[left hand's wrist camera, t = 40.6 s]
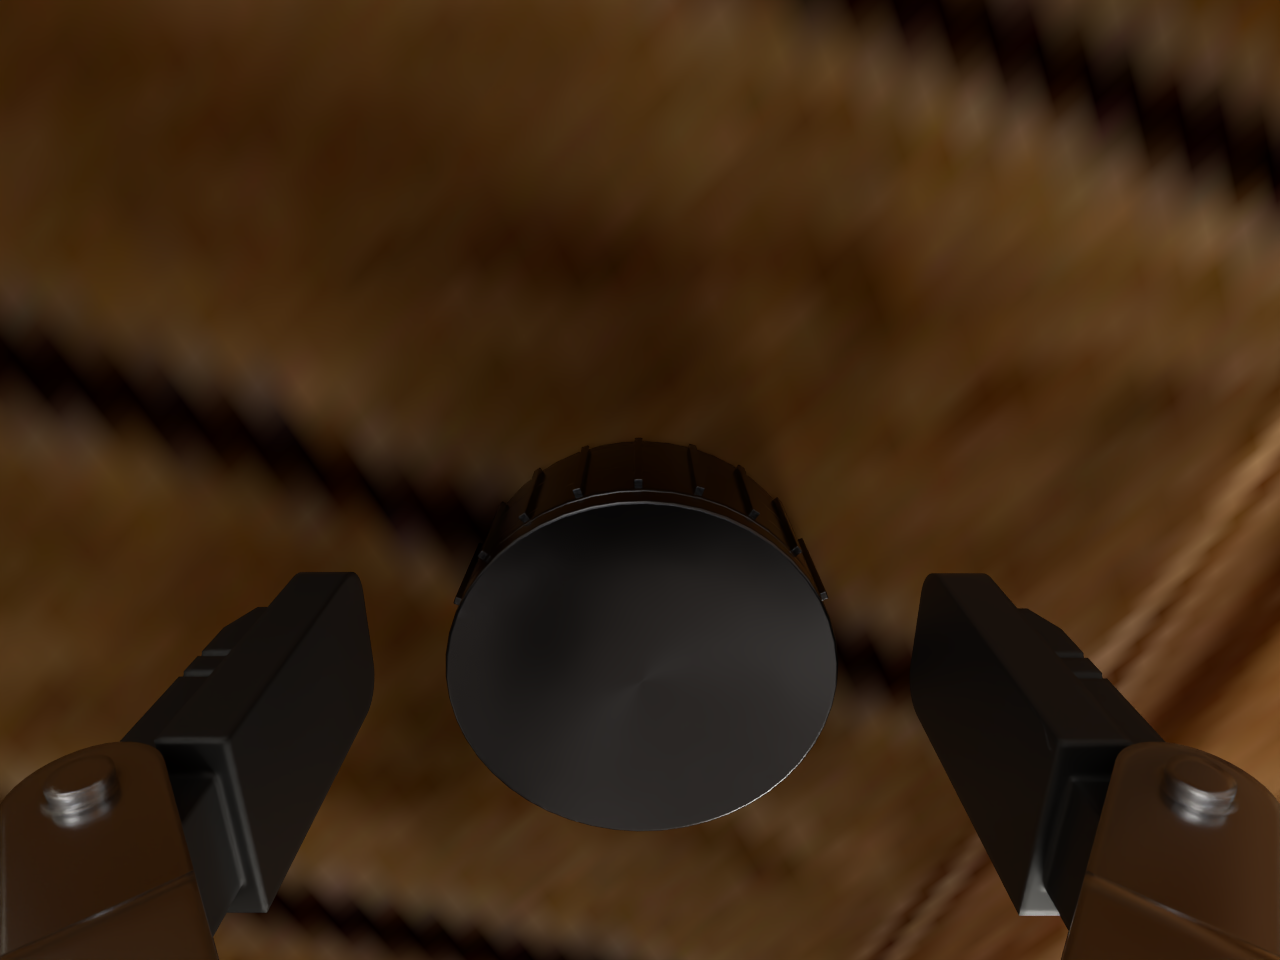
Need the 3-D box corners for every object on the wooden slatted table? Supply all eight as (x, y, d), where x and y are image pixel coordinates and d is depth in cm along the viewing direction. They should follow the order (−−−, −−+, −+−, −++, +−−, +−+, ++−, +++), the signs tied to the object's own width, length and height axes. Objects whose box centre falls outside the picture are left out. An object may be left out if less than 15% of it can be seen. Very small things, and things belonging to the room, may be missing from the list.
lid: (515, 392, 11) (486, 444, 9) (860, 488, 12) (910, 558, 10) (444, 688, 13) (406, 789, 11) (746, 759, 14) (765, 869, 11)
